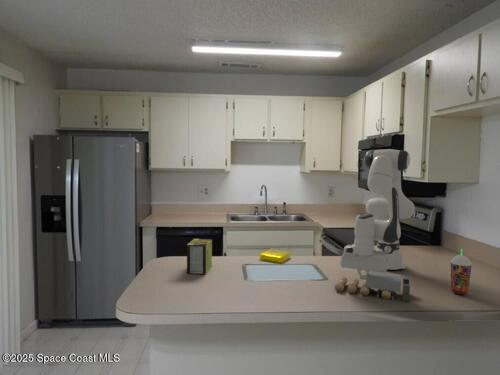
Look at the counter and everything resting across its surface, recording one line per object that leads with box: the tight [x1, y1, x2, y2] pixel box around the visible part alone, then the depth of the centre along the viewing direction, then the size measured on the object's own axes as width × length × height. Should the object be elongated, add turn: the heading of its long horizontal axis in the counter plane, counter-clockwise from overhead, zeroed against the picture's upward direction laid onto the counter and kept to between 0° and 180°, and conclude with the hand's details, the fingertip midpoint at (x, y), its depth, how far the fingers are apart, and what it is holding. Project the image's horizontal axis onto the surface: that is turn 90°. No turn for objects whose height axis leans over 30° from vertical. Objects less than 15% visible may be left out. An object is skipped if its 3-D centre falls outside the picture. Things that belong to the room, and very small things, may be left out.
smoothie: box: [449, 248, 473, 295], centre depth 162 cm, size 8×8×20 cm
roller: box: [381, 289, 392, 300], centre depth 158 cm, size 12×4×4 cm, turn 157°
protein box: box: [186, 238, 213, 275], centre depth 191 cm, size 10×15×16 cm
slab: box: [366, 271, 402, 293], centre depth 158 cm, size 12×14×4 cm
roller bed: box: [334, 275, 395, 301], centre depth 161 cm, size 12×25×4 cm, turn 67°
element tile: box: [259, 248, 291, 264], centre depth 215 cm, size 15×15×5 cm
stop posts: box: [402, 277, 411, 303], centre depth 154 cm, size 11×2×7 cm, turn 157°
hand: (363, 279), depth 162 cm, fingers closed
